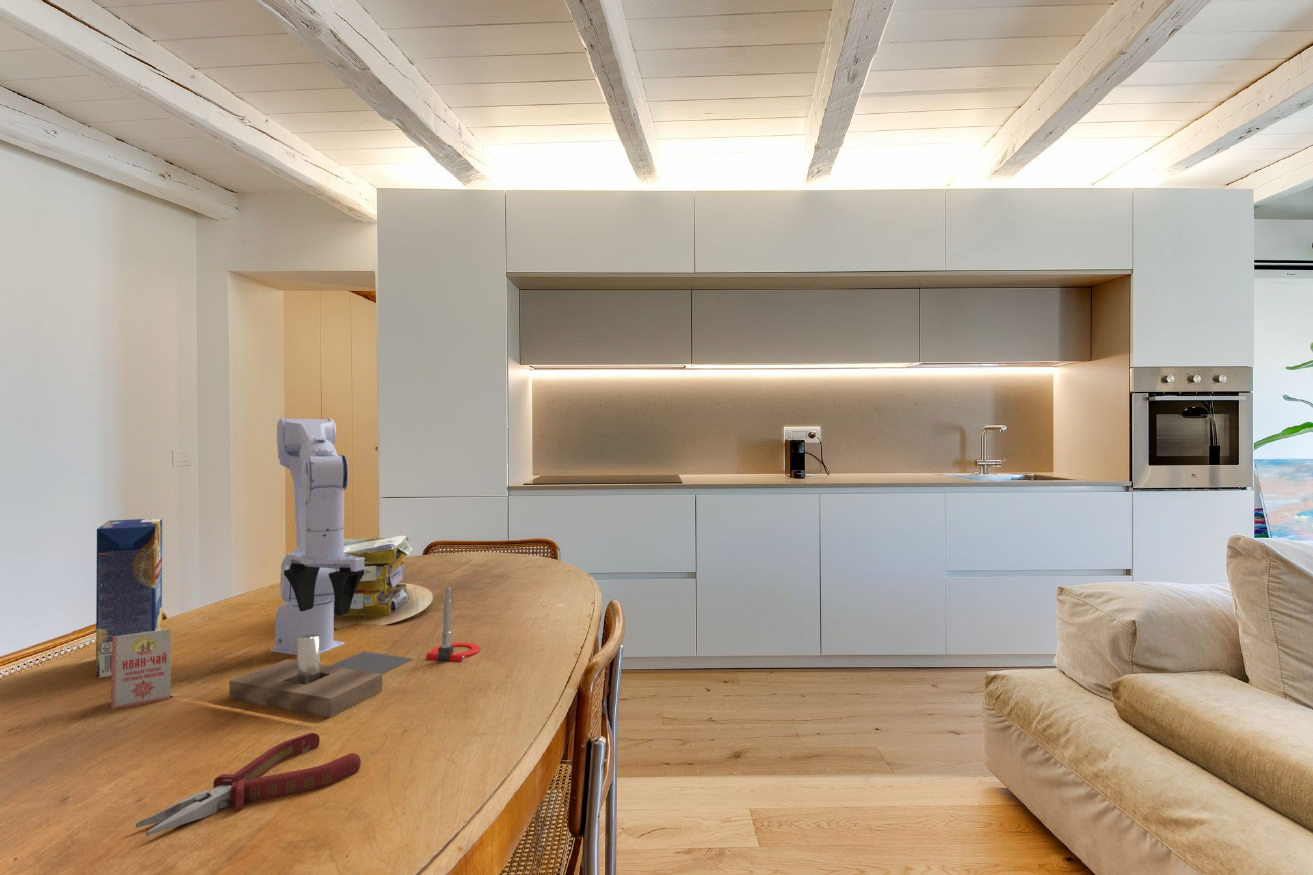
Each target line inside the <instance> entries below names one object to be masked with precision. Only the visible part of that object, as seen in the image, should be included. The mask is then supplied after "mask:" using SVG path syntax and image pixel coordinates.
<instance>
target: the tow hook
mask: <svg viewBox="0 0 1313 875" xmlns="http://www.w3.org/2000/svg"><path fill="white" fill-rule="evenodd" d="M451 609H452V599H451V587H446V588H445V599H444V600H443V618H442V619H443V621H442V622H443V623H442V625H443V626H442V632H441V645H437V646H435V647H433V648H432V650H431V652H427V653H426V656H425V660H429V661H441V662H442V661H443V662H459V663H460V662H461V663H462V662H464V661H465V660H466V658H470V657H472V656H476V655H477V654H479V653H480V652H481V646H480V645H478V644H475V643H471V642H452V643H451V640H452V639H451V638H452V632H451V619H452V618H451V615H452V614H451V612H452V610H451ZM455 647H456V648H459V647H463V648H469V649H470V650H468V651H464V652H457V653H454V648H455Z"/></svg>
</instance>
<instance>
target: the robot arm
mask: <svg viewBox="0 0 1313 875" xmlns="http://www.w3.org/2000/svg"><path fill="white" fill-rule="evenodd" d="M276 425H277V426H276V444H277V445H276V446H277V458H278V460H279V466H282V467H285V468H287V469H288V470H289V472H290V475H291V480H292V483H293V497H294V498H293V500H294V513H295V514H294V516H295V518H294V520H295V534H296V536H295V537H296V549H294V550H293V551H292V552H290V553H286V554H285V557H284V558H283V560H282V562H281V564H280V565H281V566H280V580H279V581H280V584H279V585H280V598H281V600H282V601H283V602H282V603H281V604H280V605H279V606H278V608H277V611H276V612H275V613H276V614H275V620H274V621H275V622H274V625H275V626H274V631H275V632H274V636H275V637H274V648H271V649H270V652H271V653H280V654H286V655H287V654H288V655H295V656H297V638H298V637H299V636H302V635H307V634H318V635H319V636H320V654H323V653H325V652H327V651H331V650H333V649H336V648H338V647H340V646H343V645H345V642H344V641H339V640H334V639H335V638H334V634H335V633H334V631H335V630H334V629H335V628H334V601H335V612H336V615H338V616H340V615H343V614H347V613H349V610H350V606H351V602H352V599H353V596H354V593H355V590H356V588H357V586H358V584H359V582H360V580H361V578H362V577H363V575H364V572H365V570H364V558H362V557H356V556H351V555H347V554H344V540H345V491H346V490H347V488H348V484H349V478H350V477H349V476H350V475H349V473H350V471H349V470H350V468H349V464H348V459H347V455H346V454H340V455H338V452H337V450H336V442H337V426H336V425H337V424H336V422H335V421H334V420H333V418H328V419H326V418H325V419H323V418H322V419H321V418H285V417H280V418H279V420H277V424H276ZM344 490H345V491H344Z"/></svg>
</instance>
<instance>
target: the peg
mask: <svg viewBox="0 0 1313 875" xmlns="http://www.w3.org/2000/svg"><path fill="white" fill-rule="evenodd" d="M320 655H321V653H320V636H319V635H318V634H307V635H302V636H299V637H298V638H297V655H296V661H297V683H299V684H305V685H307V684H309V683H312V682H314V681H316V680H319V679H320V662H321V660H320Z"/></svg>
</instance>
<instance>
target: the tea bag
mask: <svg viewBox="0 0 1313 875" xmlns="http://www.w3.org/2000/svg"><path fill="white" fill-rule="evenodd" d="M171 630H172V629H171V628H168V629H162V630H158V631H151V632H144V633H136V634H129V635H121V636H114V637H113V638H112V667H111V676H110V678H111V679H110V680H111V681H110V682H111V683H110V687H111V689H110V690H111V694H110V695H111V696H110V697H111V698H110V701H111V702H110V707H111V709H110V710H118V709H122V708H123V709H124V708H129V707H134V706H139V705H145V704H151V703H154V702H155V703H156V702H161V701H166V700H170V699H171V658H172V657H171V648H172V647H171V645H172V644H171V641H172V640H171V637H172V636H171Z"/></svg>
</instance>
